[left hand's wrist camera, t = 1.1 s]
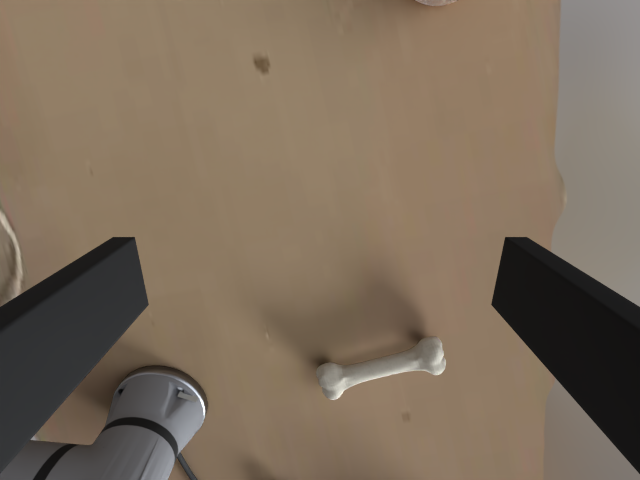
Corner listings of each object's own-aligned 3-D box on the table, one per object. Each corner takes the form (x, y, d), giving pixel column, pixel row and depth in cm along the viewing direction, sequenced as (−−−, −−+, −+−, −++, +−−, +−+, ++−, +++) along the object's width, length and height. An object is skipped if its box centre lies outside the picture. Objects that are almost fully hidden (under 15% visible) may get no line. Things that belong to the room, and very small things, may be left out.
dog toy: (324, 386, 58) (325, 410, 54) (313, 358, 56) (313, 381, 52) (442, 356, 56) (453, 379, 51) (435, 326, 54) (446, 347, 49)
